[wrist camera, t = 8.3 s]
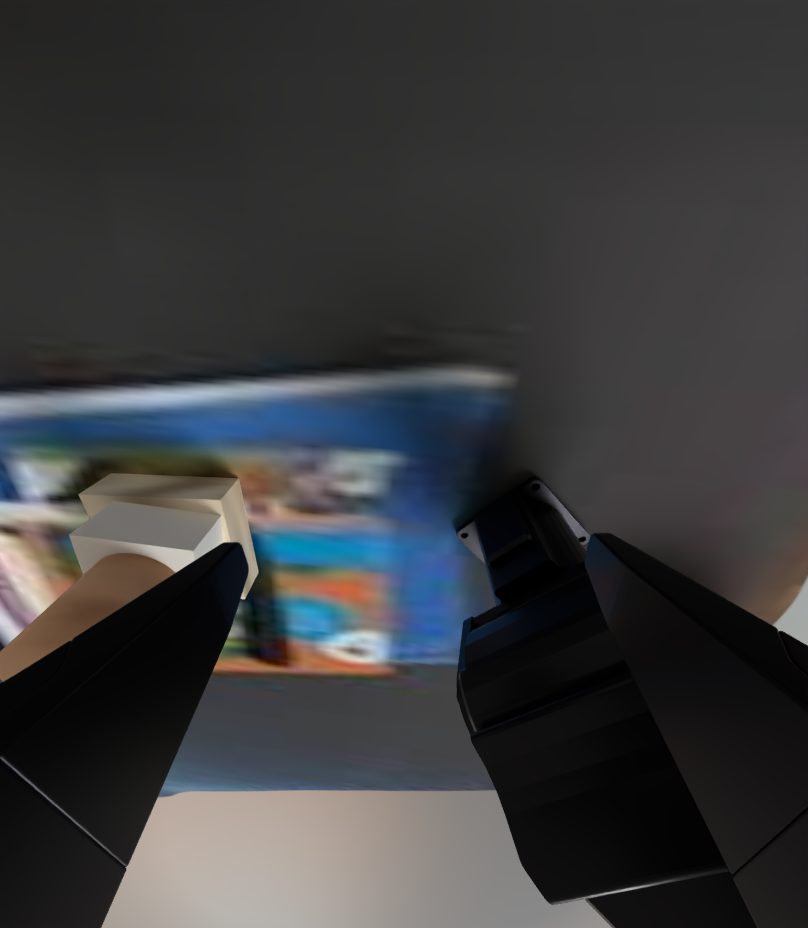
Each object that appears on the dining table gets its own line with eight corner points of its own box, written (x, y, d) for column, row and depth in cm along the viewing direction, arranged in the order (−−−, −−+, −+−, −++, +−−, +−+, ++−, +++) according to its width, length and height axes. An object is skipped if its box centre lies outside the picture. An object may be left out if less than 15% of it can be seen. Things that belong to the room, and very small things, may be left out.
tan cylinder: (207, 590, 19) (147, 683, 15) (160, 631, 21) (94, 727, 16) (119, 537, 17) (22, 624, 13) (75, 586, 19) (-25, 679, 15)
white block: (221, 515, 20) (193, 550, 18) (228, 588, 23) (205, 628, 21) (113, 500, 20) (68, 534, 17) (134, 576, 23) (98, 615, 20)
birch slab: (242, 473, 23) (220, 500, 20) (261, 566, 26) (244, 599, 24) (117, 468, 23) (78, 494, 20) (154, 562, 26) (125, 594, 24)
